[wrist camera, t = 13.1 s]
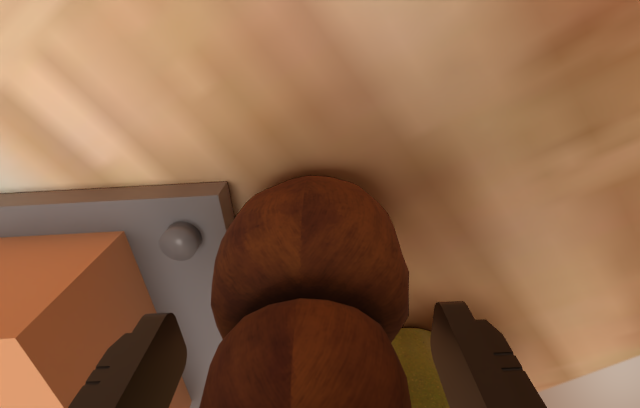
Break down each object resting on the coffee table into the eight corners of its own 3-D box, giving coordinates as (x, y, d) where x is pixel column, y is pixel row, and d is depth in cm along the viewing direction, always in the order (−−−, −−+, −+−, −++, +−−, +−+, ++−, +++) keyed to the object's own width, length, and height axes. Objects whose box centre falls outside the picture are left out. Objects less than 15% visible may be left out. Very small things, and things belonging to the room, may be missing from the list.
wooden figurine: (257, 264, 18) (64, 950, 4) (235, 165, 15) (-401, 1113, 2) (382, 256, 17) (576, 966, 4) (381, 152, 15) (909, 1181, 2)
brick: (123, 230, 15) (15, 338, 10) (191, 401, 21) (146, 526, 16) (-10, 238, 15) (-189, 346, 10) (94, 404, 21) (17, 529, 16)
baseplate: (227, 181, 16) (212, 203, 13) (270, 392, 23) (265, 427, 21) (-96, 199, 16) (-157, 222, 14) (48, 399, 23) (22, 434, 21)
